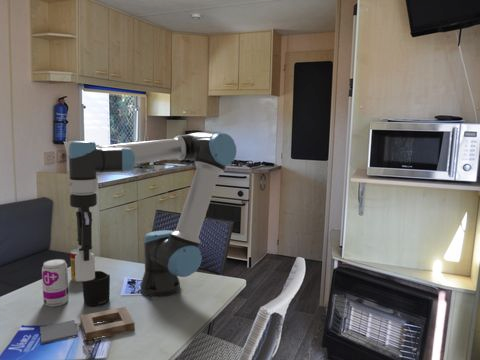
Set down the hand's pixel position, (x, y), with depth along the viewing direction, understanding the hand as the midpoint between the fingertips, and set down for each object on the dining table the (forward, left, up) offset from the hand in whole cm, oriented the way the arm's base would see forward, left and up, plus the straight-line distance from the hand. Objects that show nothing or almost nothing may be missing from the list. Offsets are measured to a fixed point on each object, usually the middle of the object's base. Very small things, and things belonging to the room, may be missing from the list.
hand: (84, 267), depth 124 cm
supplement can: (+7, -25, -20) cm, 33 cm away
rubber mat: (+8, -2, -20) cm, 22 cm away
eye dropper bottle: (0, 0, -4) cm, 4 cm away
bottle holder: (-6, +1, -20) cm, 21 cm away
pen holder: (-6, -19, -20) cm, 28 cm away
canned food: (-4, -45, -20) cm, 50 cm away
